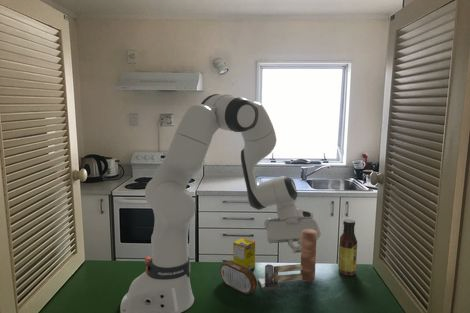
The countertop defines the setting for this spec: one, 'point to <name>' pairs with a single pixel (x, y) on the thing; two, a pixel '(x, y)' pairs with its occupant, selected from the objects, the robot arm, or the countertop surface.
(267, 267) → the hinge post
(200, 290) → the countertop surface
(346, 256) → the sauce bottle
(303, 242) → the wooden dowel roller
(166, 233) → the robot arm
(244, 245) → the supplement box
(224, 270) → the tin
